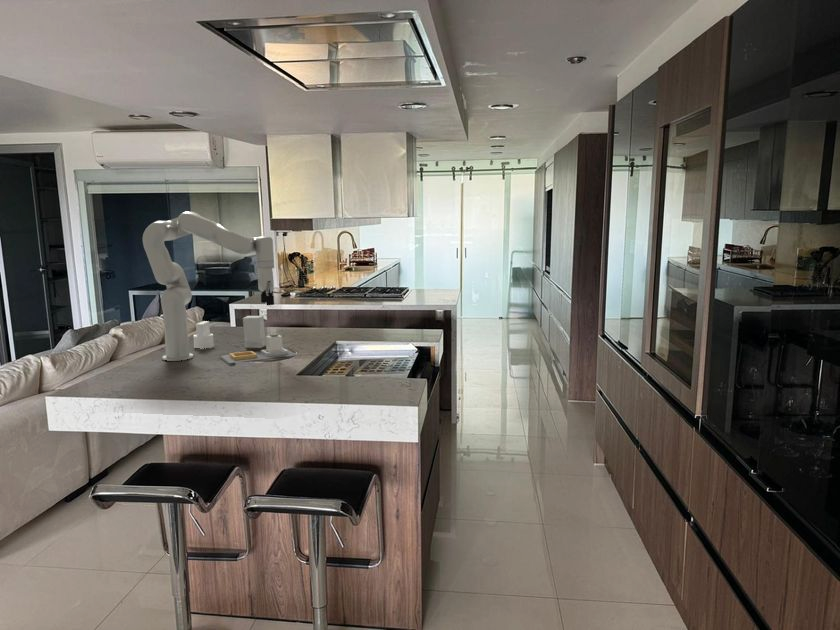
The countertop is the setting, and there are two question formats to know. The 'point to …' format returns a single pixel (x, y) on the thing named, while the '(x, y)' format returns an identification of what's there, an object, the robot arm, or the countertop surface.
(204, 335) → the base with upright slab
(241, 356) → the socket panel
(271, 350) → the plug
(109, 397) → the countertop surface
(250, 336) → the skincare box
